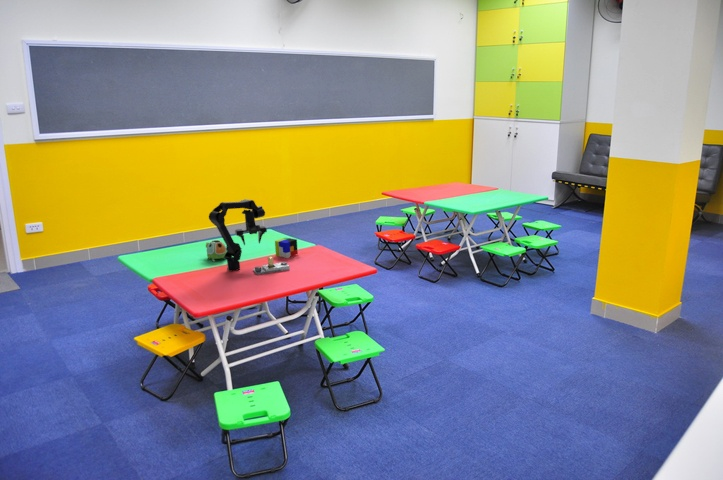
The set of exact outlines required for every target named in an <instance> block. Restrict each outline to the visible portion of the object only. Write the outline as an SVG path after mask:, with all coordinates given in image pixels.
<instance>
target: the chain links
mask: <svg viewBox="0 0 723 480" xmlns="http://www.w3.org/2000/svg"><path fill="white" fill-rule="evenodd" d="M273 265H274V267H271V268H269V266H268V264H262V265H261V266H255V267H254V268H253V269H252V271H253V272H254V274H255V275H257V276H259V275H265V274H271V273H276V272H277V273H278V272H283V271H290V265H289V264H288V262H286V261H284V262H283V261H282V262H277V263H273Z"/></svg>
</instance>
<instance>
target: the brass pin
mask: <svg viewBox="0 0 723 480" xmlns="http://www.w3.org/2000/svg"><path fill="white" fill-rule="evenodd" d="M273 264H274V256H268V257H267V265H268V266H269V268H271V267H274V265H273Z"/></svg>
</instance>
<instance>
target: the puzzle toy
mask: <svg viewBox="0 0 723 480" xmlns="http://www.w3.org/2000/svg"><path fill="white" fill-rule="evenodd" d="M274 246H275V256H276V257H281V258H285V259H287V258H290V256H291V257H293V255H294V256H297V255H298V239H295V238H291V237H283V238H280V239H277V240H274ZM296 254H297V255H296Z"/></svg>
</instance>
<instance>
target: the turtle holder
mask: <svg viewBox="0 0 723 480" xmlns="http://www.w3.org/2000/svg"><path fill="white" fill-rule="evenodd" d="M226 246H227V245H226V244H225V242H224V243H223V241H221V240H220V239H214V240H210V242H208V241H207V242H206V243H205V248H206V256H207V259H206V260H207V261H209V260H212V262H216V260H218V259H219V260H220V259H225V258H224V256H225V254H226V253H227V250H226Z"/></svg>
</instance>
